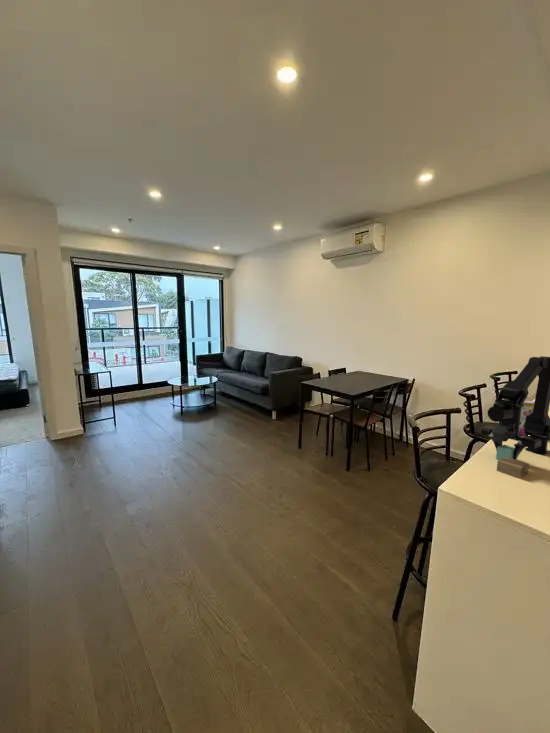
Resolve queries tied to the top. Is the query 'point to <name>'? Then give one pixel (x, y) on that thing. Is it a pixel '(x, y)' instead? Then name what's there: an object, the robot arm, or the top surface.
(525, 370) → the robot arm
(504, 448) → the teal cube
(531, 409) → the candy bar box
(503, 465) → the walnut block
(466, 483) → the top surface
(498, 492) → the top surface
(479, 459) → the top surface
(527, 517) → the top surface
